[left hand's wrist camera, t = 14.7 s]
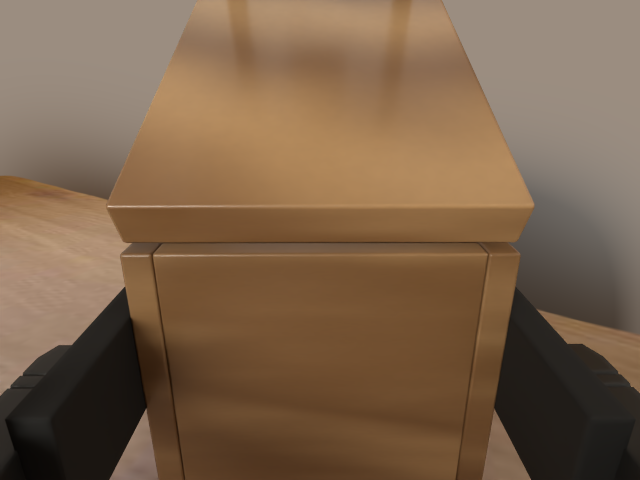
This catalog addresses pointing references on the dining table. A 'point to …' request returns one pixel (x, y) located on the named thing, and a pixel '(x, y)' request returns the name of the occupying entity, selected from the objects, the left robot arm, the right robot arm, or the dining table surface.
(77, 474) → the left robot arm
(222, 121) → the lid
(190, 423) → the chest
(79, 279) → the dining table surface
